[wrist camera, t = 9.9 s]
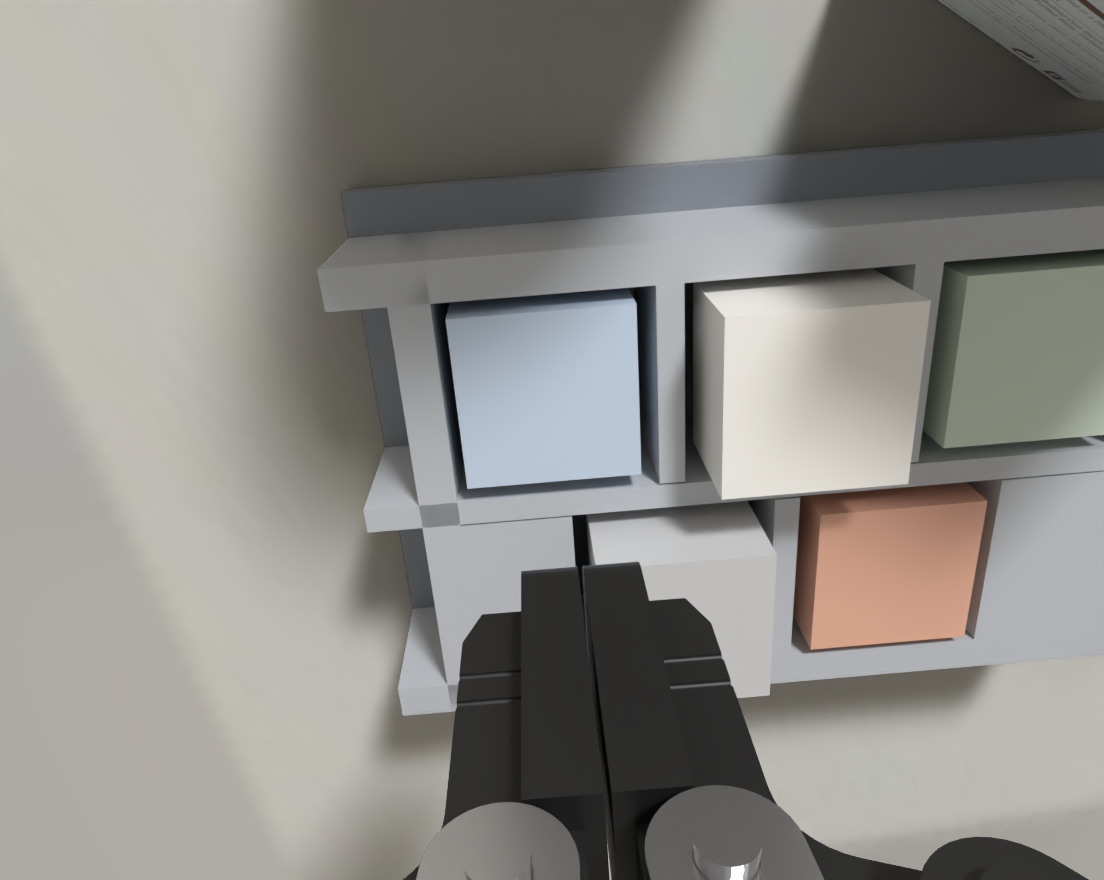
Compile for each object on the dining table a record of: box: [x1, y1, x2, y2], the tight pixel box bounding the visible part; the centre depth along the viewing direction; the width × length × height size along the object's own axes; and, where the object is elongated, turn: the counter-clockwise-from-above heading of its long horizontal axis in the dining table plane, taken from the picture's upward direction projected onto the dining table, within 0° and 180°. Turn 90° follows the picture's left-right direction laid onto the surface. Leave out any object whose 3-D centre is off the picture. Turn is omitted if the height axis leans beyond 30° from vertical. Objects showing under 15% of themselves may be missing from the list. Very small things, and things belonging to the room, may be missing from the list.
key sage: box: [923, 249, 1104, 448], centre depth 19 cm, size 4×4×3 cm
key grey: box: [586, 501, 777, 698], centre depth 20 cm, size 4×4×3 cm
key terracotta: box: [793, 482, 987, 650], centre depth 21 cm, size 4×4×3 cm
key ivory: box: [693, 268, 931, 500], centre depth 18 cm, size 4×4×3 cm
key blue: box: [445, 288, 641, 489], centre depth 19 cm, size 4×4×3 cm
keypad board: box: [317, 129, 1104, 716], centre depth 21 cm, size 20×14×4 cm
